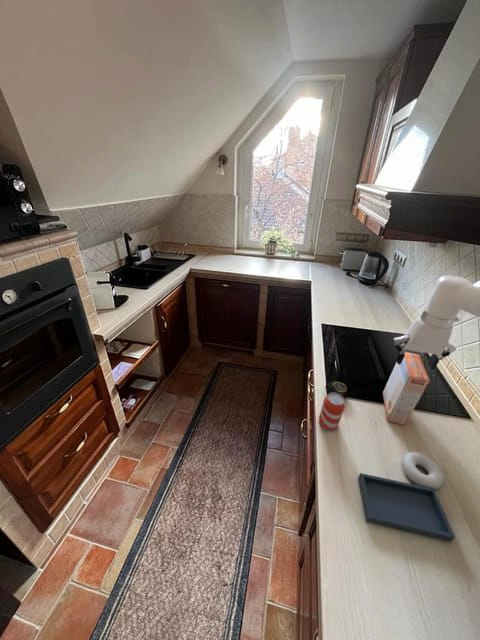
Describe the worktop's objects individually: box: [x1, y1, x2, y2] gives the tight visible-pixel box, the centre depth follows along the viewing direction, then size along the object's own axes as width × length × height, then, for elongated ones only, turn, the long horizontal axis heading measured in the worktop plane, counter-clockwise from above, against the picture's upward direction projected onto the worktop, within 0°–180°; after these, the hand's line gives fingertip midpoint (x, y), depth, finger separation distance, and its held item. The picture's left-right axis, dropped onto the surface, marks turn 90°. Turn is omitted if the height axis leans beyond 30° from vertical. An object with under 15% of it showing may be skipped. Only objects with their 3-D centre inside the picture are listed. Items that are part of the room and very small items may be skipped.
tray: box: [357, 472, 456, 543], centre depth 64 cm, size 19×11×2 cm, turn 78°
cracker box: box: [382, 351, 430, 426], centre depth 87 cm, size 14×6×21 cm, turn 159°
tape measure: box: [325, 380, 348, 399], centre depth 97 cm, size 7×7×4 cm
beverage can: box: [318, 392, 346, 431], centre depth 83 cm, size 6×6×12 cm
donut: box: [401, 451, 444, 490], centre depth 72 cm, size 10×4×10 cm
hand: (413, 364), depth 82 cm, fingers open, 9 cm apart
